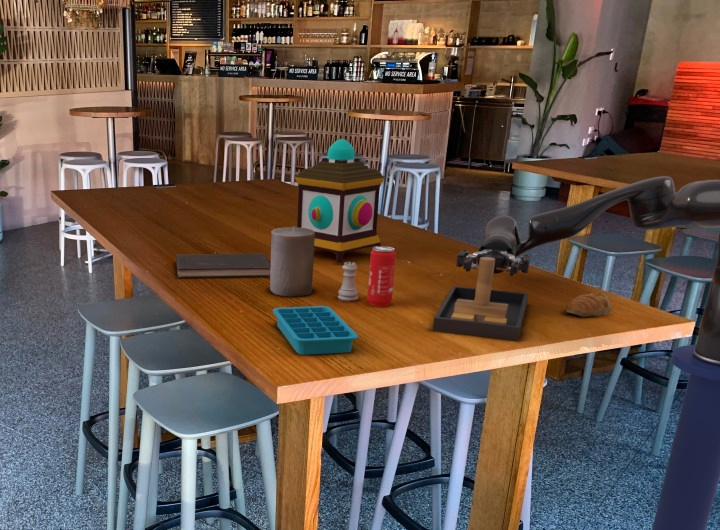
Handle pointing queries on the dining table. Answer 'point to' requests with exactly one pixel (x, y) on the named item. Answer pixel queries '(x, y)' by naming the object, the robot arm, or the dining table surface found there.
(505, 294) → the tray
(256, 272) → the hardcover book
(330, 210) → the decorative lantern
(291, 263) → the pillar candle
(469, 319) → the light wooden block
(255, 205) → the dining table surface
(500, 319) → the block
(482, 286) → the brush
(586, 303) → the pastry
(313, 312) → the ice cube tray
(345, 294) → the rook chess piece
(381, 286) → the beverage can
